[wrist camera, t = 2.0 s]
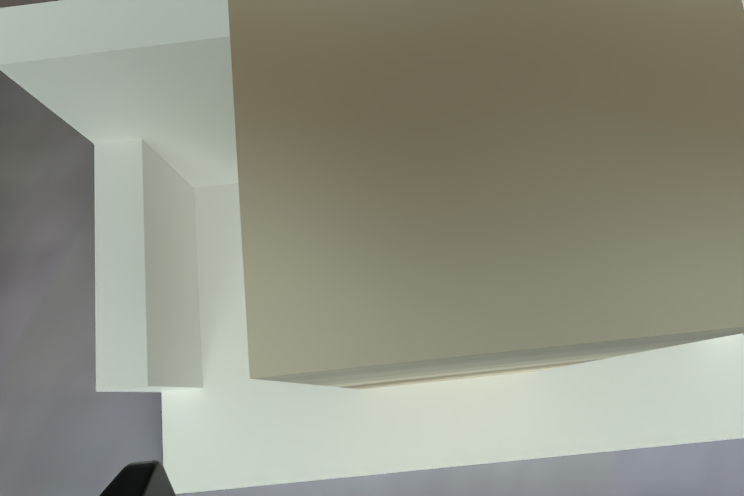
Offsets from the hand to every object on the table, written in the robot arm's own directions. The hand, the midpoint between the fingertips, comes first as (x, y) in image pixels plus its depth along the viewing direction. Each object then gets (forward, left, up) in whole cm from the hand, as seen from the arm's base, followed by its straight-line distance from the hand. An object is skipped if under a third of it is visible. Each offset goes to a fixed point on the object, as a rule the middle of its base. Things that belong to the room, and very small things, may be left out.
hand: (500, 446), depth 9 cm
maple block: (+4, 0, -10) cm, 10 cm away
